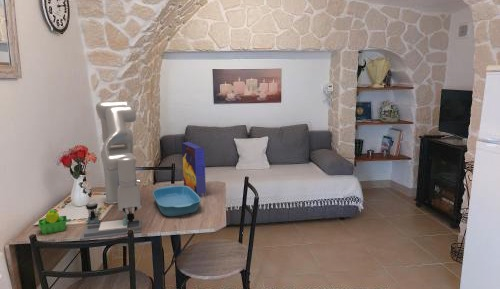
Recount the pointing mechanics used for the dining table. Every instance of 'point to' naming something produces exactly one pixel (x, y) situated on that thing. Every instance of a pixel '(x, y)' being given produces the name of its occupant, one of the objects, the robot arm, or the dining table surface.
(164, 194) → the casserole dish
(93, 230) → the dock
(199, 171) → the cereal box
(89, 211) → the push button
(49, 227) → the fruit basket
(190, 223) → the dining table surface
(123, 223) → the shutter lid
